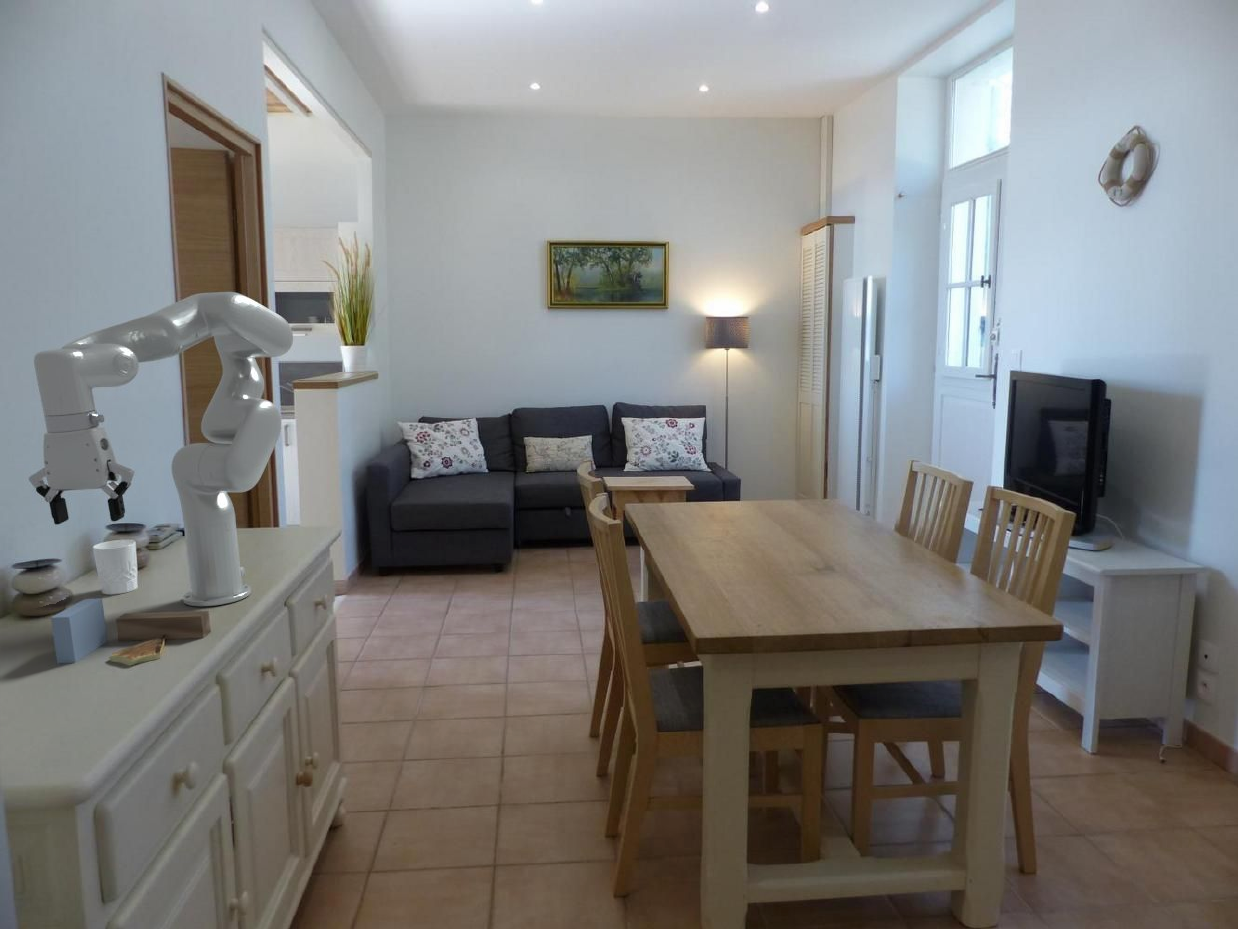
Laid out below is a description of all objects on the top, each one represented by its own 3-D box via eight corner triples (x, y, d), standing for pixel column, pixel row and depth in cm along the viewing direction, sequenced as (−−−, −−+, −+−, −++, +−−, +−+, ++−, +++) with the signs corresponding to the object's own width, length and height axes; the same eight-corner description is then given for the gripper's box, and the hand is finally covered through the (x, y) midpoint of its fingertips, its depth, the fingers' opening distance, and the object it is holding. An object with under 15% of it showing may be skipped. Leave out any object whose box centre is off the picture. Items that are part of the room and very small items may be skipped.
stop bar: (127, 634, 165) (124, 613, 164) (210, 631, 165) (208, 610, 164) (118, 640, 162) (115, 619, 161) (203, 637, 162) (201, 616, 161)
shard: (166, 642, 162) (165, 632, 162) (195, 648, 159) (194, 638, 158) (108, 663, 153) (106, 653, 152) (137, 670, 149) (136, 659, 149)
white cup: (103, 598, 188) (96, 551, 186) (95, 590, 194) (89, 544, 192) (145, 590, 193) (139, 544, 191) (136, 582, 199) (130, 537, 197)
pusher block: (57, 663, 152) (50, 617, 151) (90, 642, 162) (84, 598, 161) (75, 663, 152) (69, 617, 151) (107, 641, 162) (102, 598, 161)
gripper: (134, 416, 157) (150, 512, 161) (34, 422, 157) (52, 517, 161) (111, 424, 150) (129, 524, 154) (6, 429, 150) (26, 529, 154)
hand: (90, 520), depth 157 cm, fingers open, 9 cm apart
